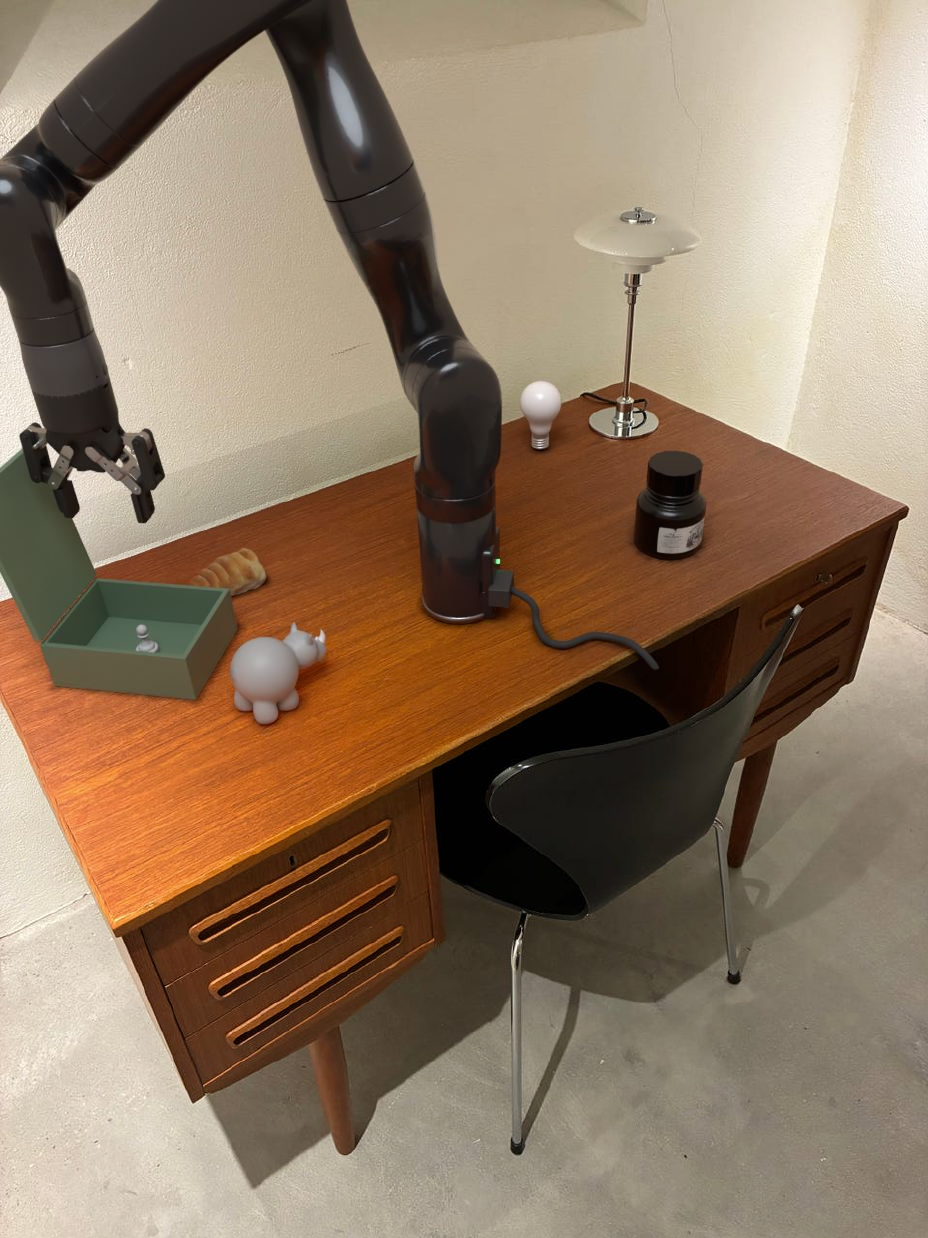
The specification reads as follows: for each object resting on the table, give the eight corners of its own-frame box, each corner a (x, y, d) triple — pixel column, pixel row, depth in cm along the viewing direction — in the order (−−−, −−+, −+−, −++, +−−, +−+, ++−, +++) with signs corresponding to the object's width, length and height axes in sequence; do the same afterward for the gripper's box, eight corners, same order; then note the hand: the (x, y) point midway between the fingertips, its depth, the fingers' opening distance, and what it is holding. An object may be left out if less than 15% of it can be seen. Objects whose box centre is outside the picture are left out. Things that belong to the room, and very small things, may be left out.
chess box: (238, 628, 121) (229, 588, 117) (196, 700, 110) (185, 658, 107) (107, 617, 124) (95, 577, 120) (54, 686, 113) (39, 645, 110)
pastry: (206, 611, 124) (200, 586, 122) (182, 588, 128) (176, 564, 126) (271, 583, 128) (267, 558, 126) (246, 562, 133) (241, 537, 130)
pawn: (135, 649, 117) (127, 622, 115) (157, 643, 118) (149, 616, 116) (138, 662, 115) (130, 634, 113) (161, 655, 116) (153, 628, 114)
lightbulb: (517, 457, 154) (517, 390, 147) (522, 438, 159) (522, 373, 152) (558, 459, 153) (560, 392, 146) (562, 440, 158) (564, 374, 151)
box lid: (37, 439, 109) (31, 439, 109) (-31, 499, 99) (-37, 499, 99) (97, 574, 120) (91, 574, 120) (41, 641, 109) (34, 642, 109)
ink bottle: (669, 570, 128) (678, 488, 120) (617, 543, 133) (623, 463, 126) (716, 541, 133) (727, 461, 125) (664, 517, 138) (672, 439, 131)
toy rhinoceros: (350, 683, 112) (342, 623, 107) (263, 737, 105) (250, 675, 100) (311, 655, 116) (302, 596, 111) (225, 705, 110) (210, 645, 104)
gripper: (-17, 389, 97) (32, 531, 107) (118, 396, 95) (156, 539, 104) (23, 359, 103) (66, 496, 113) (151, 364, 101) (184, 503, 110)
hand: (109, 517), depth 109 cm, fingers open, 8 cm apart
